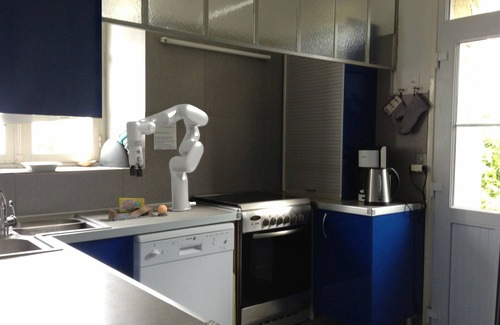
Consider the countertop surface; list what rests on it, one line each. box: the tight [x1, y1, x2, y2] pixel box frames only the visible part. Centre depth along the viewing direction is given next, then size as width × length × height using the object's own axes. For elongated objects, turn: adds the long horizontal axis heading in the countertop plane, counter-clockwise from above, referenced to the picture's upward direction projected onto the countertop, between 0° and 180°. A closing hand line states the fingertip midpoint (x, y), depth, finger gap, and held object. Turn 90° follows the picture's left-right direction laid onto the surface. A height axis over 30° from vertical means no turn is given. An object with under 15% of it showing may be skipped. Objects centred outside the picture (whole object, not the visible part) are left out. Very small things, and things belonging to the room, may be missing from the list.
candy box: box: [118, 197, 146, 213], centre depth 270 cm, size 16×2×8 cm, turn 71°
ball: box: [157, 204, 168, 214], centre depth 256 cm, size 5×5×5 cm
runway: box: [108, 212, 155, 222], centre depth 252 cm, size 22×9×2 cm, turn 126°
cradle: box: [157, 212, 168, 217], centre depth 256 cm, size 3×5×1 cm, turn 36°
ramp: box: [107, 204, 154, 221], centre depth 251 cm, size 22×9×5 cm, turn 126°
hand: (136, 176), depth 252 cm, fingers open, 9 cm apart
